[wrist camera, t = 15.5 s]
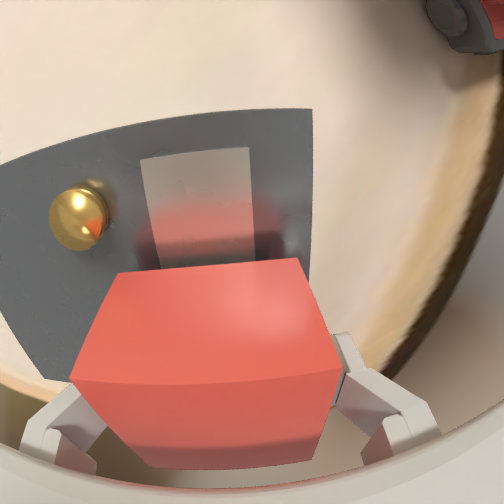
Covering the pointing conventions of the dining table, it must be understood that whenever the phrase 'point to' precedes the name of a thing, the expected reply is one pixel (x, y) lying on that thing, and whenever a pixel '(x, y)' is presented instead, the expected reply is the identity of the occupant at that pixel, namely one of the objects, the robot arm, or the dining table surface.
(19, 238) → the panel
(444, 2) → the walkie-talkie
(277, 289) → the cap
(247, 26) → the dining table surface
